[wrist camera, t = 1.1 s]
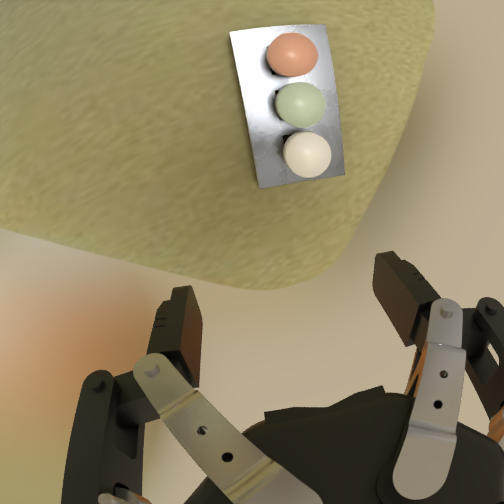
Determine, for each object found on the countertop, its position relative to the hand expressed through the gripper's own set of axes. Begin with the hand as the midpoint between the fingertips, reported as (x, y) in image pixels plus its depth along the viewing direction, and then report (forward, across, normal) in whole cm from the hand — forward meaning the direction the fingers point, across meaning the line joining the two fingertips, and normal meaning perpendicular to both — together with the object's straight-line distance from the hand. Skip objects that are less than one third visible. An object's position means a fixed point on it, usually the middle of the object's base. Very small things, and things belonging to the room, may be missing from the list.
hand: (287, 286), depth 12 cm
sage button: (+18, -5, -6) cm, 20 cm away
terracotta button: (+18, -5, -11) cm, 22 cm away
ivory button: (+18, -5, -2) cm, 19 cm away
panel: (+20, -5, -6) cm, 22 cm away
